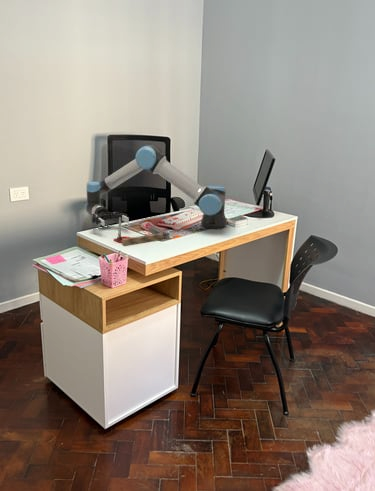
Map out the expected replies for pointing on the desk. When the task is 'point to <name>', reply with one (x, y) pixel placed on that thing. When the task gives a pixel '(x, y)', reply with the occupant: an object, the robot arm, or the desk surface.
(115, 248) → the desk surface
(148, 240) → the guide track
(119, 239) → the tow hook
